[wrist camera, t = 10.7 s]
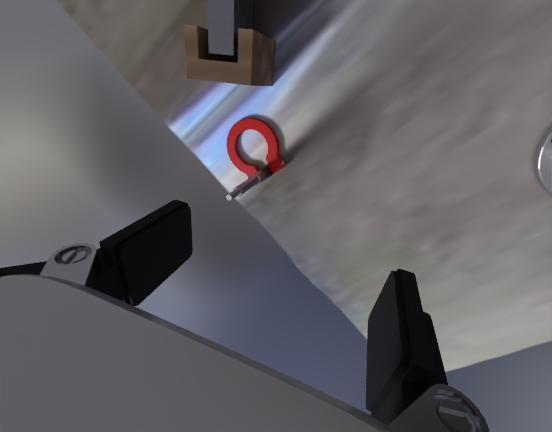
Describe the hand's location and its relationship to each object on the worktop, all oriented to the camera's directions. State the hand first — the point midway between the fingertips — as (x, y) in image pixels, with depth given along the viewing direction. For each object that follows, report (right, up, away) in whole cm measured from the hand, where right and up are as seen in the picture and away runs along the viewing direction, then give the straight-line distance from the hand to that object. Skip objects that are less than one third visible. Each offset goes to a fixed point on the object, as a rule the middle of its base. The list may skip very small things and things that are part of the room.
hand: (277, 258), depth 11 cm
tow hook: (-3, +12, +27) cm, 30 cm away
